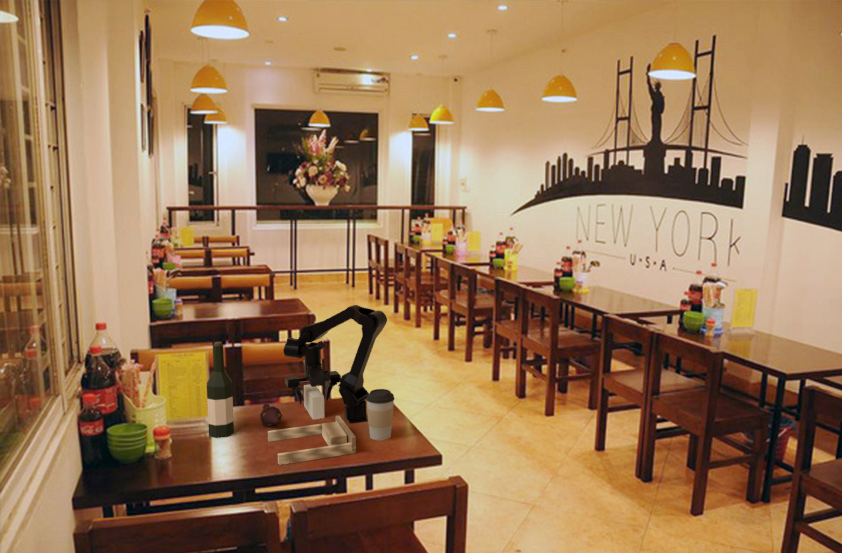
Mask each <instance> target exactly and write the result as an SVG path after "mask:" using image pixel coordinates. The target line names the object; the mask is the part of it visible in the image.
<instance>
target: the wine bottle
mask: <svg viewBox="0 0 842 553" xmlns="http://www.w3.org/2000/svg"><path fill="white" fill-rule="evenodd" d="M224 353H225V351H224V344H223V343H222V341H215V342H213V344H212V360H213V371H212V373H211V375H210V377H209V378H208V380H207V382H206V397H207V399H206V400H207V401H206V402H207V424H208V426H207V427H208V437H210V436H211V438H215V439H219V438H220V439H221V437H222V438H227V437H229V436H232V435H234V434H235V424H234V423H235V422H234V396H233V380H232V378H231V377H230V376H229V374H228V373H227V372H226V370H225V359H224V358H225V357H224V355H225V354H224Z"/></svg>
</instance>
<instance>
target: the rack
mask: <svg viewBox="0 0 842 553" xmlns="http://www.w3.org/2000/svg"><path fill="white" fill-rule="evenodd" d="M334 419H335V422H338V423H339V424H340V426H341V427H342V429H343V430H344V432H345V433H346V435H347V442H348V443H345V444H338V445H332V446H328V445H327V446H318V447H314V448H306V449H299V450H293V451H286V452H280V453H277V464H279V465H278V466H282V464H283V465H289V463H290V464H294V463H295V464H296V463H300V462H308V461H314V460H320V459H326V458H333V457H339V456H345V455H351V454H356V453H357V443H356V442H357V438H356V435H355V434H354V433H353V432H352V430H351V429H350V428H349V426H348V425H347V423H346V422H345V421H344V420H343V419H342V418H341V416H340V415H335V418H334ZM329 423H331V421H329ZM322 424H323V423H317V424H310V425H303V426H296V427H290V428H282V429H281V428H280V429H274V430H267V441H268V443H269V442H276V441H282V440H283V441H284V440H288V439H296V438H304V437H310V436H311V437H312V436H317V435H318V436H319V435H322Z"/></svg>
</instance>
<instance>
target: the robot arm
mask: <svg viewBox="0 0 842 553" xmlns="http://www.w3.org/2000/svg"><path fill="white" fill-rule="evenodd" d="M350 320H353V321H354V322H355V323H356V324H358V325H360V326H361V334H362V335H361V336H362V337H361V339H360V342H359V345H358V348H357V349H356V350H357V351H356V353H355V356H354V359H353V362H352V364H351V367H350V370H349V371H348V372H346V373H345V374H343V375H341V374H340V373H339V372H338V371H337V370H329V369H328V370H326V369H325V370H323V366H322V365H323V364H322V350H323V349H325V348H327V344H326V343H324V342H323V341H322V340H320V339H322V338H323V337H324V336H326V335H327V334H328V333H329V331H331V330H333V329H335V328H336V327H338V326H340V325H342V324H344V323H346V322H348V321H350ZM387 323H388V318H387V315H386V314H385V312H384V311H382V310H375V309H372V308H367V307H364V306H361V305H358V304H353V305H350V306H348V307H347V308H345V309H344V310H342V311H339V312H338V313H336V314H334V315H332V316H330V317H328V318H326V319H325V320H322V321H318V322H315V323H312V324H311V323H310V324H309V325H306V326H303V328H302V329H301V332H300V336H299V337H298V338H295V337H287V339H286V343H285V344H284V347H283V355H284V356H285V357H286V358H287V357H288V358H293V359H302V358H304V377H298V375H297V374H293V375H286V377H285V378H284V381H285V382H284V383H285V385H286V387H287V388H288V389H291V390H292V391H294V392H295V394H296V397H297V400H298V403H299V406H301V405H302V403H303V402H302V401H303V400H302V394H301V387H300V384H306V383H309V385H311V386H312V387H315V386H317V387H319V386H321V387H323V386H325V388H324V389H325V390H324V392H325V394H324V400H325V401H326V402H328V400H329V397H330V395H331V392H332V389H333V388H334V387H335V386H337V387H338V393H339V394H340V396H341V398H342V399H341V400H342V402H343V405H345V406H344V418H345V419H346V421H347V422H348V423H349V424H352V423H353V424H354V423H361V422H368V417H367V400H366V398H367V395H368V394H369V393H370V392H368V390H367V389H366V388H365V387H364V382H365V381H364V374H365V373H364V372H365V370H366V367H367V365H368V361H369V359H370V356H371V353H372V351H373V347H374V345H375V342H376V339H377V338H378V336H380V334H381V333H382V331H383V330H384V328H385V327H386V325H387ZM317 340H320V341H318V342H315V341H317ZM338 383H339V384H338Z"/></svg>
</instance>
